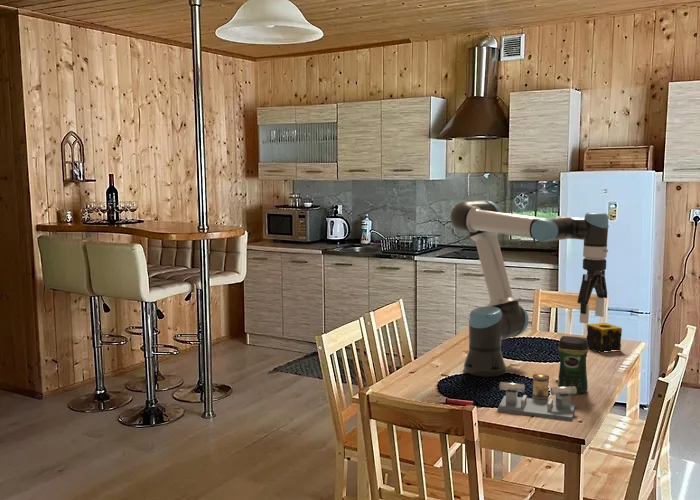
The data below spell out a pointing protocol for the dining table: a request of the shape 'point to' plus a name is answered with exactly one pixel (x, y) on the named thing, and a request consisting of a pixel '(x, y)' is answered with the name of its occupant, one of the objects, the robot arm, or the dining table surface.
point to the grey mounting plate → (537, 408)
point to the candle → (604, 337)
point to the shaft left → (511, 391)
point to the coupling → (540, 386)
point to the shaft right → (563, 396)
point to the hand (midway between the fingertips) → (591, 319)
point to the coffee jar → (573, 363)
